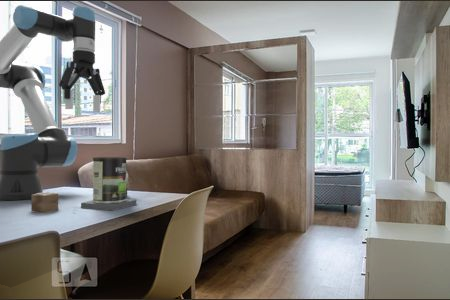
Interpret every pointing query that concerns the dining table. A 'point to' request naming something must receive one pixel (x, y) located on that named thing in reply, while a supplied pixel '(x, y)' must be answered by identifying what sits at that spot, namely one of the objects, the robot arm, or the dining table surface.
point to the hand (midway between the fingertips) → (83, 110)
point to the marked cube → (44, 202)
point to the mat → (108, 205)
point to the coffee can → (109, 179)
